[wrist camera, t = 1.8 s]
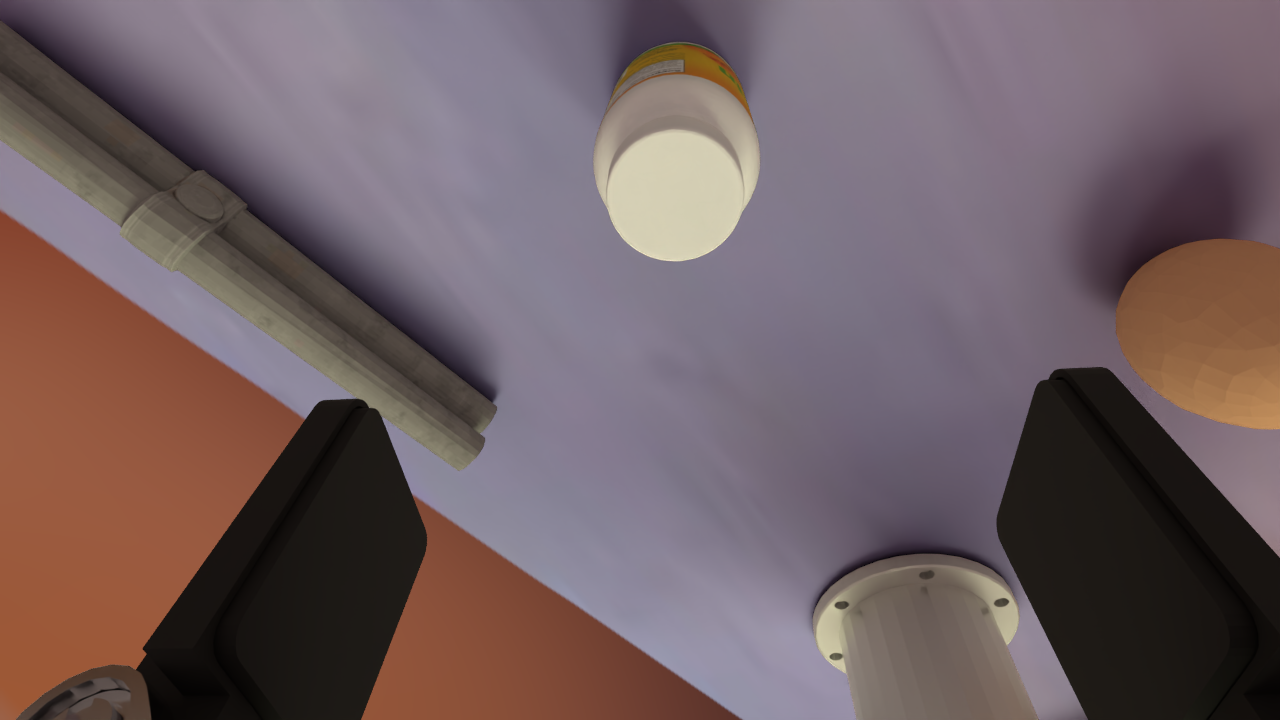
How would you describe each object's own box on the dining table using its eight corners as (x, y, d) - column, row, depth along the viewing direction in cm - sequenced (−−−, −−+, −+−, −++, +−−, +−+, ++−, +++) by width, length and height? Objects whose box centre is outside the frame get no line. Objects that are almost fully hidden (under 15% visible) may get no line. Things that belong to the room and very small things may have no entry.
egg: (1281, 219, 28) (1498, 334, 21) (1190, 349, 32) (1345, 487, 25) (1127, 198, 28) (1290, 305, 21) (1054, 331, 32) (1168, 464, 24)
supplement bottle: (762, 149, 28) (794, 248, 20) (642, 196, 29) (626, 306, 21) (719, 14, 25) (735, 67, 17) (589, 73, 27) (548, 146, 19)
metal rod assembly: (506, 393, 36) (483, 457, 32) (473, 420, 37) (447, 485, 33) (4, -7, 26) (-123, 10, 22) (-19, 45, 27) (-144, 71, 23)
